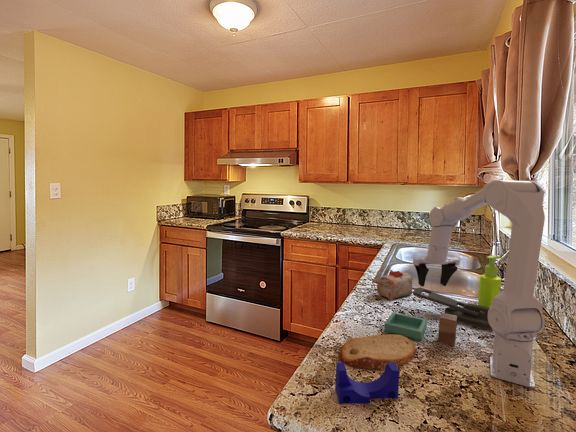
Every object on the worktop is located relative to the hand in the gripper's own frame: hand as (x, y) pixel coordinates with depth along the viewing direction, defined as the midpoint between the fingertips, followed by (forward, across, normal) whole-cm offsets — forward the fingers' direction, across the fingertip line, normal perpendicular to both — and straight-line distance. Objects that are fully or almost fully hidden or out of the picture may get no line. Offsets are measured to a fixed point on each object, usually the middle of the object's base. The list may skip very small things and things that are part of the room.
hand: (432, 284), depth 104 cm
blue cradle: (+5, +36, +38) cm, 52 cm away
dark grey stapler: (+11, -8, +2) cm, 13 cm away
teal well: (+9, +13, +10) cm, 19 cm away
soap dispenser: (+10, -20, +3) cm, 23 cm away
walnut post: (+8, +5, +18) cm, 20 cm away
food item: (+14, +2, -18) cm, 23 cm away
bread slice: (+8, +27, +22) cm, 36 cm away
